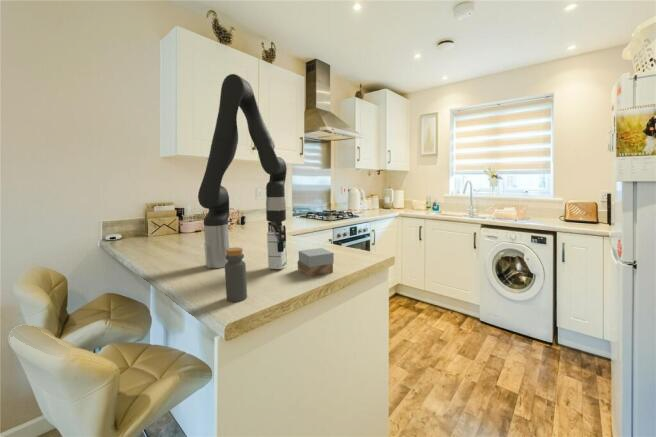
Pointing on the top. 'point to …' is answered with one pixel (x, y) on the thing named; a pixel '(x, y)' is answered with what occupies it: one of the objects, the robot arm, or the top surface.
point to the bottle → (235, 275)
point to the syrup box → (275, 252)
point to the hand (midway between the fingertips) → (277, 249)
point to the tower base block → (315, 269)
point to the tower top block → (316, 257)
